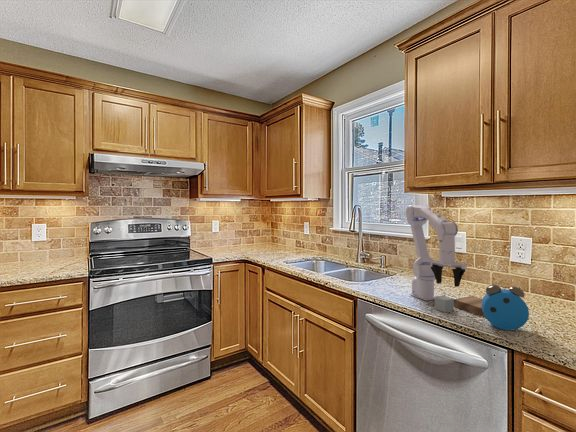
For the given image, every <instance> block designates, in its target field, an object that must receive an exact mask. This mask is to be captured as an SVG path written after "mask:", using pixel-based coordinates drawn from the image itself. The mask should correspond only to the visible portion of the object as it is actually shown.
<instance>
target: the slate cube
mask: <svg viewBox="0 0 576 432" xmlns="http://www.w3.org/2000/svg"><path fill="white" fill-rule="evenodd" d="M454 308H455V307H454V298H452V297H449V296H446V295H439V296H436V297H435V299H434V309H435V310H438V311H441V312H443V313H448V312H453V311H455V309H454Z"/></svg>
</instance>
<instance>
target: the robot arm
mask: <svg viewBox="0 0 576 432" xmlns="http://www.w3.org/2000/svg"><path fill="white" fill-rule="evenodd" d="M405 216H406V221H407V224H408V225H410V229H411V233H412V234H411V235H412V238H413V243H414V246H415V252H416V256H417V259H415V261H414V262H413V263H412V265H413V266H412V267H413V269H412V271H413V275H414V277H413V279H412V281H411V294H410V296H412V297H415V298H417V299H421V300H423V301H432V300H435V297H437V296H436V295H435V281H436V284H437V285H439V284H442V282H443V281H442V279H443V277H442V276H443V268H445V267H446V268H451V271H452V274H453V280H454V281H453V282H454V283H453V284H454V287H455V288H456V287H457V288H458V287H460V285H461V280H462V277H463V276H464V274H465V272H466V270H467V263H461V262H456V240H455V239H456V238H455V237H456V236H457V234H458V231H459V227H458V224H457V223H456V222H455V221H448V219H446V218H445V217H443V216H442V214H441V213H436V214H435V213H434V212H433V211H432V209H431V207H430V206H429V205H427V204H426V205H425V204H424V205H408V206H407V207H406V212H405ZM427 222H428V223H429V225H430V226H431V227H432V228H433V229H435V232H436V235H437V240H438V241H439V242H438V243H439V245H438V247H439V260H435V259H433V258H431V256H430V255H429V250H428V247H427V242H426V238H425V233H424V230H423V225H426V224H427Z"/></svg>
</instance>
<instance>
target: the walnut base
mask: <svg viewBox="0 0 576 432" xmlns="http://www.w3.org/2000/svg"><path fill="white" fill-rule="evenodd" d="M453 299H454V298H453ZM482 299H483V297H482V298H481V297H479V296H475V295H470V296H466V297H465V296H464V297H459V298H455V299H454V308H457V309H460V310H464V311H466V312H468V313H473V314H475V315H478V316H485V315H484V313H483V311H482V306H481V304H482Z"/></svg>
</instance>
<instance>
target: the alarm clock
mask: <svg viewBox="0 0 576 432" xmlns="http://www.w3.org/2000/svg"><path fill="white" fill-rule="evenodd" d="M525 297H526V295H525V292H524V290H523V289H522V288H521V287H517V286H510V287H509V288H508V289H507V287H505V286H502V288H501V286H499V284H498V285H497V284H490V285H488V286H487V287H486V288H485V295H484V296H483V297H482V304H481V306H482V311H483V313H484V315H483V316H484V317H485V319H486V320H487V322H489V323H490V325H492V326H493V327H495V328H497V329H500V330H503V331H515V330H517V329H521V328H522V327H524V326H525V325H526V324H527V322H528V320H529V317H530V310H529V307H528V305H527V303H526V302H525V300H523V298H524V299H525Z"/></svg>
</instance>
